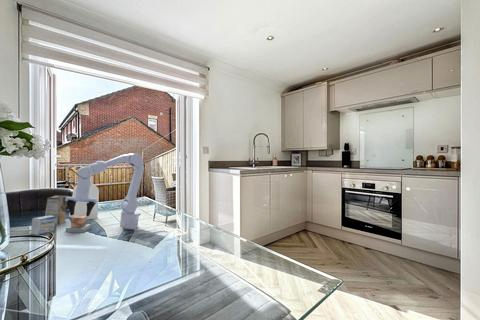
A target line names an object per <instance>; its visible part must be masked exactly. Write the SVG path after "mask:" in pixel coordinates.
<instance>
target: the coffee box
mask: <svg viewBox="0 0 480 320" xmlns="http://www.w3.org/2000/svg"><path fill="white" fill-rule="evenodd" d="M66 197H69V195H61V194H60V195H57V194H56V195H53V196H50V197H47V198H46V206H45V207H46V208H45V215H44V216H48V215H52V216H55V226H54V227H58V226H60V225H62V224H63V223H66V219H67V211H68V206H67V204H66V202H67V201H65V199H66Z"/></svg>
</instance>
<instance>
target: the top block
mask: <svg viewBox="0 0 480 320" xmlns="http://www.w3.org/2000/svg"><path fill="white" fill-rule="evenodd" d="M91 226H92V224H90V223H89V224H88V223H86V225H85V226H84V227H82V228H74V227H71V225H69V226H67V227H65V233H66V232H67V233H69V232H80V233H79V234H84V233H83V232H84V231H88V230H89V229H91Z"/></svg>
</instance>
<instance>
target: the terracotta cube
mask: <svg viewBox="0 0 480 320" xmlns="http://www.w3.org/2000/svg"><path fill="white" fill-rule="evenodd" d="M87 220H88V219H87V216H81V215H76V216H74V217H72V218H71V222H70V226H71V227H74V228H82V227H84V226H85V225H86V224H87Z"/></svg>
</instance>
